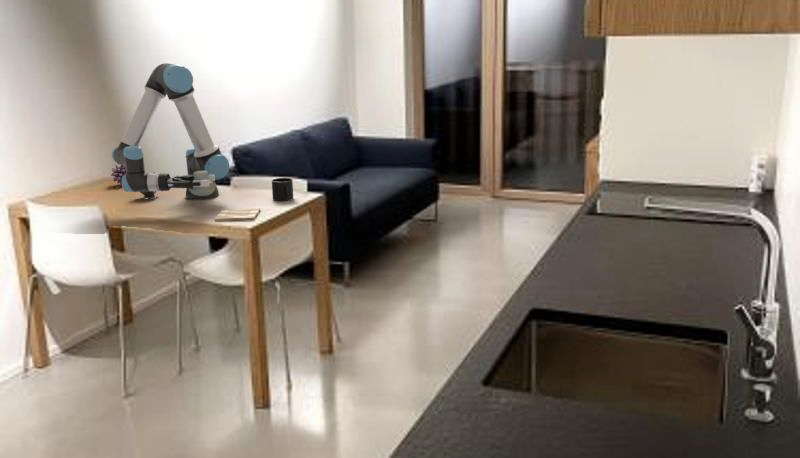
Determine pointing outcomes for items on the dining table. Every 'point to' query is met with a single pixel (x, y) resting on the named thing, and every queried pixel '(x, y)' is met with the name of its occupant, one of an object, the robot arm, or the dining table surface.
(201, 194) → the air freshener
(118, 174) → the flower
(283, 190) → the mug
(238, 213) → the coaster board
